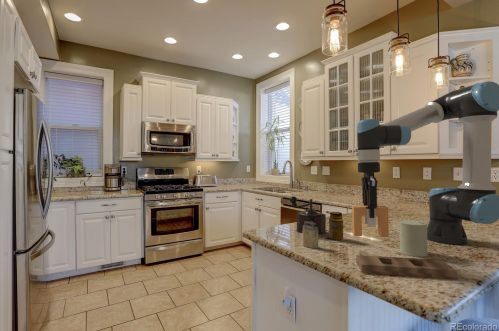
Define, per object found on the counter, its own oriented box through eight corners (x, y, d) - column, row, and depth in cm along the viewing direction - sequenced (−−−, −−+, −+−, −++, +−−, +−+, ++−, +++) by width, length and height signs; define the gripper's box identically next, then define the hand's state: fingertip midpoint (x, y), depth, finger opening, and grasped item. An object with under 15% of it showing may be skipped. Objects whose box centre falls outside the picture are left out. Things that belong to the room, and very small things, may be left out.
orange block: (385, 234, 100) (384, 205, 100) (388, 237, 96) (388, 207, 96) (352, 233, 103) (351, 205, 103) (354, 236, 99) (353, 207, 99)
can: (428, 258, 96) (428, 224, 96) (398, 254, 101) (398, 222, 101) (427, 251, 104) (427, 220, 104) (399, 247, 108) (399, 217, 108)
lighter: (320, 247, 109) (320, 222, 109) (314, 249, 107) (314, 224, 107) (305, 243, 114) (305, 220, 114) (300, 245, 112) (300, 221, 112)
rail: (441, 267, 87) (441, 259, 87) (456, 279, 78) (456, 270, 78) (356, 262, 92) (356, 254, 92) (361, 272, 84) (361, 264, 84)
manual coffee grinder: (310, 228, 142) (310, 194, 142) (326, 232, 133) (326, 196, 133) (287, 232, 134) (287, 196, 134) (303, 237, 124) (302, 198, 124)
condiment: (347, 239, 120) (347, 212, 120) (334, 242, 116) (334, 214, 116) (334, 236, 126) (334, 210, 126) (321, 239, 122) (321, 212, 122)
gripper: (353, 162, 109) (354, 220, 109) (362, 161, 92) (364, 230, 92) (373, 161, 107) (374, 220, 107) (386, 161, 90) (387, 231, 90)
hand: (369, 225), depth 100 cm, fingers closed on orange block, 4 cm apart
